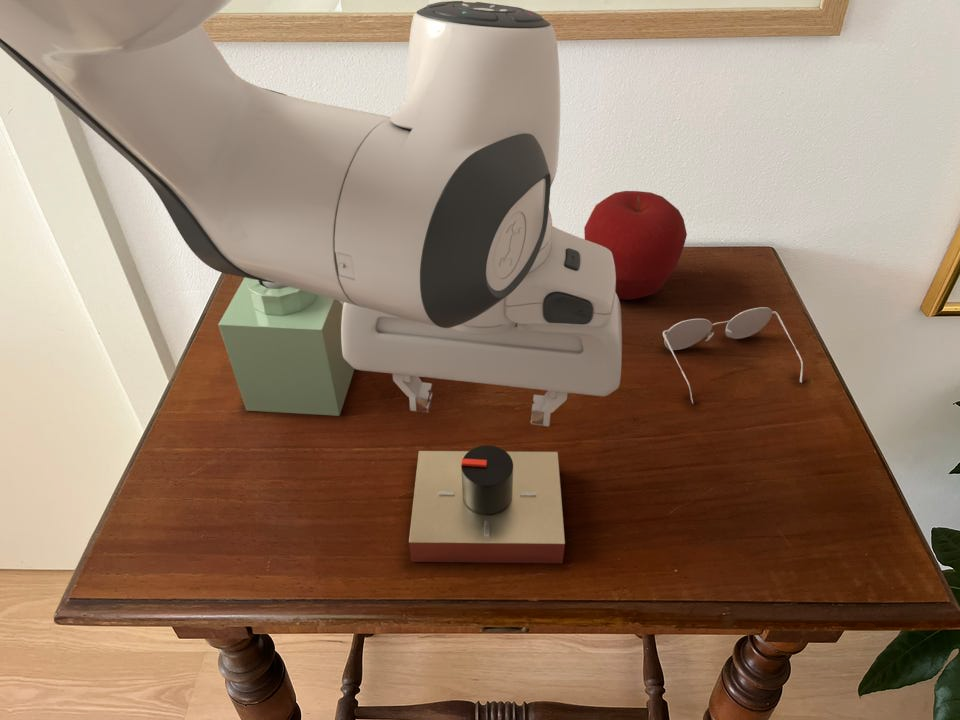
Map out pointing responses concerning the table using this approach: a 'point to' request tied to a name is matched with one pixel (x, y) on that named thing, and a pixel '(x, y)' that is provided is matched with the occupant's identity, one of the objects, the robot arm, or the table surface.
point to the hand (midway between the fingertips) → (480, 412)
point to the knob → (487, 479)
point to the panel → (487, 537)
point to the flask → (286, 350)
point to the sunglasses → (736, 328)
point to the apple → (638, 239)
